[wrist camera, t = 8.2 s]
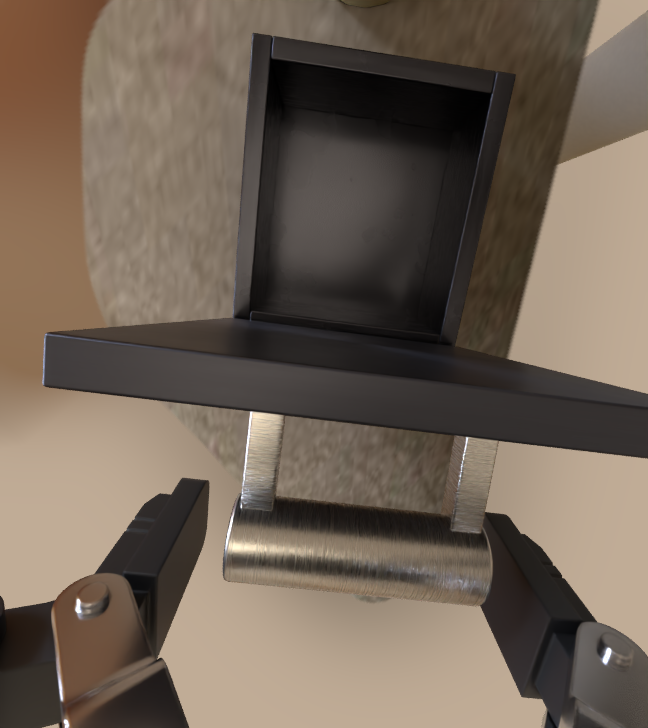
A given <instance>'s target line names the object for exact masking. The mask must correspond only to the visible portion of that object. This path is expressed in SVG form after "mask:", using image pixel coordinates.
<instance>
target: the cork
mask: <svg viewBox="0 0 648 728" xmlns="http://www.w3.org/2000/svg"><path fill="white" fill-rule="evenodd" d="M341 1H342V2H344V3H346V4H348V5H353V6H359V7H364V8H367V7H372V6H377V5H382V4H385V3H386V2H388V1H390V0H341Z"/></svg>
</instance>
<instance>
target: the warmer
mask: <svg viewBox="0 0 648 728" xmlns="http://www.w3.org/2000/svg"><path fill="white" fill-rule="evenodd" d="M515 77H516V74H511V73H504V72H495V71H490V70H484V69H478V68H472V67H465V66H459V65H453V64H446V63H440V62H434V61H427V60H421V59H415V58H409V57H402V56H396V55H390V54H383V53H377V52H371V51H365V50H358V49H352V48H346V47H339V46H333V45H327V44H320V43H314V42H308V41H302V40H295V39H289V38H283V37H276V36H273V38H272V36H270V35H264V34H258V33H253V34H252V45H251V60H250V74H249V89H248V103H247V117H246V132H245V146H244V160H243V175H242V189H241V203H240V218H239V232H238V247H237V261H236V275H235V290H234V304H233V318H237V319H245V320H252V321H260V322H268V323H276V324H284V325H291V326H299V327H307V328H315V329H322V330H330V331H338V332H346V333H354V334H361V335H369V336H377V337H385V338H393V339H400V340H408V341H416V342H424V343H432V344H439V345H447V346H455V343H456V339H457V334H458V330H459V325H460V321H461V317H462V312H463V308H464V303H465V299H466V294H467V290H468V285H469V281H470V277H471V272H472V268H473V263H474V259H475V254H476V250H477V245H478V241H479V237H480V232H481V228H482V223H483V219H484V214H485V210H486V206H487V201H488V197H489V192H490V188H491V183H492V179H493V174H494V170H495V166H496V161H497V157H498V152H499V148H500V143H501V139H502V135H503V130H504V126H505V121H506V117H507V112H508V108H509V103H510V99H511V95H512V90H513V86H514V81H515Z"/></svg>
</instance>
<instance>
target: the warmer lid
mask: <svg viewBox="0 0 648 728" xmlns="http://www.w3.org/2000/svg"><path fill="white" fill-rule="evenodd" d="M43 386H45V387H49V388H58V389H67V390H75V391H83V392H91V393H100V394H108V395H117V396H126V397H134V398H142V399H150V400H159V401H167V402H176V403H184V404H192V405H201V406H209V407H218V408H226V409H235V410H243V411H250V419H249V428H248V437H247V447H246V456H245V465H244V475H243V484H242V493H240V494H239V495H238V496H237V498H236V500H235V503H234V506H233V509H232V513H231V517H230V521H229V526H228V531H227V536H226V542H225V549H224V557H223V577H224V579H225V580H226V581H228V582H238V583H248V584H258V585H268V586H278V587H288V588H298V589H307V590H317V591H327V592H337V593H347V594H357V595H367V596H377V597H387V598H397V599H408V600H417V601H427V602H437V603H447V604H457V605H467V606H480V605H482V604H484V603H485V602H486V600H487V599H488V597H489V594H490V591H491V587H492V579H493V561H492V552H491V547H490V543H489V540H488V537H487V534H486V532H485V530H484V528H483V526H482V525H483V519H484V514H485V509H486V504H487V498H488V493H489V488H490V483H491V478H492V473H493V468H494V463H495V457H496V452H497V447H498V442H499V441H504V442H513V443H522V444H529V445H538V446H547V447H555V448H563V449H572V450H581V451H589V452H597V453H605V454H614V455H622V456H631V457H640V458H648V394H646V393H641V392H637V391H634V390H629V389H625V388H621V387H617V386H613V385H609V384H605V383H601V382H597V381H593V380H589V379H585V378H581V377H577V376H573V375H569V374H565V373H561V372H557V371H552V370H549V369H545V368H541V367H537V366H533V365H529V364H525V363H521V362H517V361H513V360H509V359H505V358H501V357H497V356H492V355H488V354H484V353H480V352H476V351H472V350H468V349H464V348H460V347H455V346H447V345H439V344H432V343H424V342H416V341H408V340H400V339H393V338H385V337H377V336H369V335H361V334H354V333H346V332H338V331H330V330H322V329H315V328H307V327H299V326H291V325H284V324H276V323H268V322H260V321H252V320H245V319H237V318H223V319H210V320H197V321H185V322H172V323H159V324H147V325H134V326H122V327H109V328H96V329H84V330H72V331H58V332H49V333H46V334H45V336H44V360H43ZM285 416H294V417H302V418H310V419H319V420H327V421H336V422H344V423H353V424H361V425H369V426H378V427H386V428H395V429H403V430H411V431H420V432H428V433H437V434H445V435H454V436H455V437H454V443H453V448H452V454H451V460H450V465H449V471H448V476H447V482H446V488H445V493H444V499H443V504H442V510H441V514H436V513H427V512H417V511H408V510H399V509H390V508H381V507H372V506H363V505H354V504H345V503H336V502H326V501H317V500H308V499H299V498H290V497H281V496H276V491H277V483H278V475H279V466H280V458H281V449H282V441H283V433H284V424H285Z"/></svg>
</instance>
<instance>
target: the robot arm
mask: <svg viewBox="0 0 648 728" xmlns="http://www.w3.org/2000/svg"><path fill="white" fill-rule="evenodd" d="M208 501H209V481H208V480H198V479H190V478H182V479H181V480H180V482H179V483H178V485H177V487H176V488H175V490H174V491H173V493H172V494H171V495H168V494H158V495H157V496H155V497H154V498H152V499H151V500H149V501H148V502H147V503H145V504H144V505H143V507H142V508H141V509H140V511H139V512H138V514H137V515H136V516H135V519H134V520H133V521H132V522H131V524H130V525H129V526H128V528H127V530H126V531H125V532H124V533H123V535H122V536H121V538H120V539H119V540H118V542H117V543H116V544H115V546H114V547H113V549H112V550H111V551H110V553H109V554H108V556H107V557H106V558H105V560H104V561H103V563H102V564H101V566H100V567H99V568H98V570H97V571H96V573H95V574H93V575H90V576H87V577H84V578H82V579H80V580H78V581H76V582H74V583H73V584H71V585H70V586H68V587H67V588H66V589H65V590H63V592H62V593H61V594H60V595H59V596H58V597H57V599H56V600H55V601H51V602H47V603H42V604H36V605H30V606H24V607H19V608H12V609H6V610H5V607H4V601H3V599H2V597H1V596H0V728H42V727H46V726H50V725H54V724H57V723H59V728H189V726H188V723H187V720H186V717H185V715H184V712H183V709H182V706H181V704H180V701H179V698H178V695H177V692H176V690H175V687H174V684H173V681H172V678H171V675H170V673H169V670H168V667H167V665H166V663H165V661H164V660H163V659H162V658H159V659H158V660H157V658H158V655H159V653H160V650H161V648H162V646H163V643H164V641H165V638H166V636H167V633H168V631H169V628H170V626H171V623H172V621H173V619H174V616H175V614H176V611H177V608H178V606H179V603H180V601H181V599H182V597H183V594H184V592H185V589H186V587H187V584H188V582H189V579H190V577H191V574H192V572H193V570H194V567H195V565H196V562H197V560H198V557H199V555H200V552H201V550H202V547H203V544H204V540H205V535H206V530H207V517H208ZM482 526H483V528H484V530H485V532H486V534H487V537H488V540H489V543H490V547H491V552H492V561H493V579H492V587H491V591H490V594H489V597H488V599H487V600H486V602H485V603H484V604H482V605H480V606H481V608H482V611H483V613H484V615H485V617H486V619H487V622H488V624H489V626H490V628H491V631H492V633H493V635H494V637H495V639H496V641H497V644H498V646H499V648H500V650H501V652H502V654H503V657H504V659H505V661H506V664H507V666H508V668H509V670H510V672H511V674H512V677H513V679H514V681H515V683H516V685H517V688H518V690H519V692H520V694H521V697H526V698H537V699H543V702H544V704H545V706H546V708H547V709H546V711H545V714H544V717H543V720H542V725H541V728H648V657H647V655H646V654H645V652H643V650H642V649H641V648H640V647H639V646H638V645H637V644H635V643H634V642H633V641H632V640H631V639H629V638H628V637H627V636H625V635H624V634H622V633H621V632H619V631H617V630H616V629H614V628H611V627H610V626H607V625H604V624H602V623H598V622H597V621H596V620H595V618H594V617H593V616H592V614H591V613H590V612H589V611H588V609H587V608H586V607H585V605H584V604H583V602H582V601H581V600H580V599H579V597H578V596H577V594H576V593H575V592H574V591H573V589H572V588H571V587H570V585H569V584H568V583H567V581H566V580H565V579H564V578H562V575H561V573H560V572H559V571H558V569H557V568H556V567H555V566H553V563H552V562H551V560H550V559H549V557H548V556H547V555H546V553H545V552H544V551H543V549H542V548H541V547H540V546H538V545H537V544H536V543H535V542H534V541H532V540H531V539H530V538H529V537H528V536H526V535H525V534H521V533H520V532H519V530H518V529H517V528H516V526H515V525H514V524H513V522H512V521H511V519H510V518H509V517H508V516H507V515H504V514H497V513H487V512H485V514H484V519H483V525H482Z"/></svg>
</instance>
